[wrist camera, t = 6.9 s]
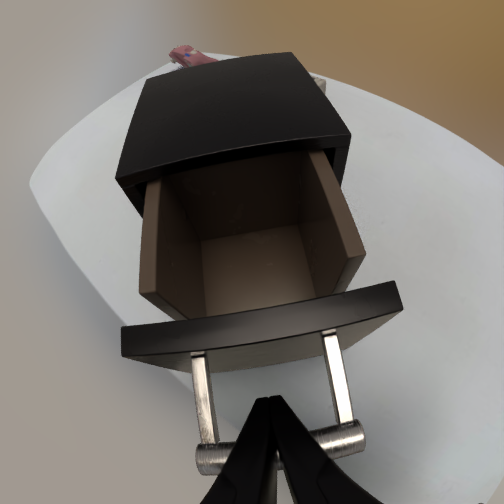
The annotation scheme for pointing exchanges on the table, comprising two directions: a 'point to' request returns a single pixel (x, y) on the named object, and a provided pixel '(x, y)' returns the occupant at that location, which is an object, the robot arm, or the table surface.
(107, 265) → the table surface
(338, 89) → the table surface
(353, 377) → the table surface
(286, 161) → the drawer
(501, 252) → the table surface
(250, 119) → the dark boxy piece
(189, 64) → the pink toy car
